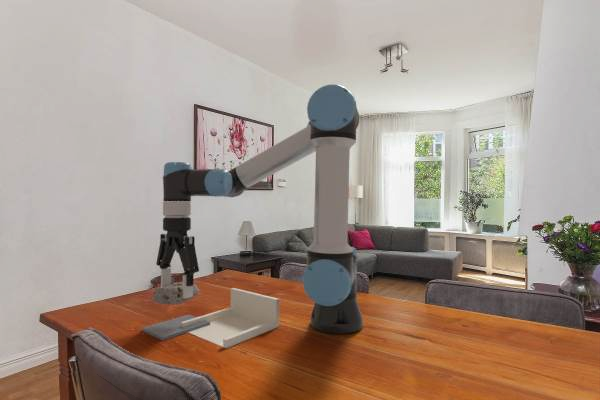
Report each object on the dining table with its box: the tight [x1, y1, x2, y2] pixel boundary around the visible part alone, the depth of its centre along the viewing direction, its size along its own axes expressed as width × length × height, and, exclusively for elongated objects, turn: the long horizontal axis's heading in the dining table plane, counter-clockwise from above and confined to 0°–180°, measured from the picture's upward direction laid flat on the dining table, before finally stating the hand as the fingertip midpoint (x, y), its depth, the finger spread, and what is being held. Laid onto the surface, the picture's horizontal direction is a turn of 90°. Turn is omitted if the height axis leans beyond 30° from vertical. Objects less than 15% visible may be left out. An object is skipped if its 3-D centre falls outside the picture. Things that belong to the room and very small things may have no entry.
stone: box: [151, 282, 201, 306], centre depth 100 cm, size 13×6×10 cm
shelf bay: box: [181, 287, 280, 349], centre depth 99 cm, size 20×19×8 cm
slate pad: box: [141, 314, 210, 341], centre depth 99 cm, size 11×15×1 cm
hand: (176, 293), depth 100 cm, fingers closed on stone, 11 cm apart
